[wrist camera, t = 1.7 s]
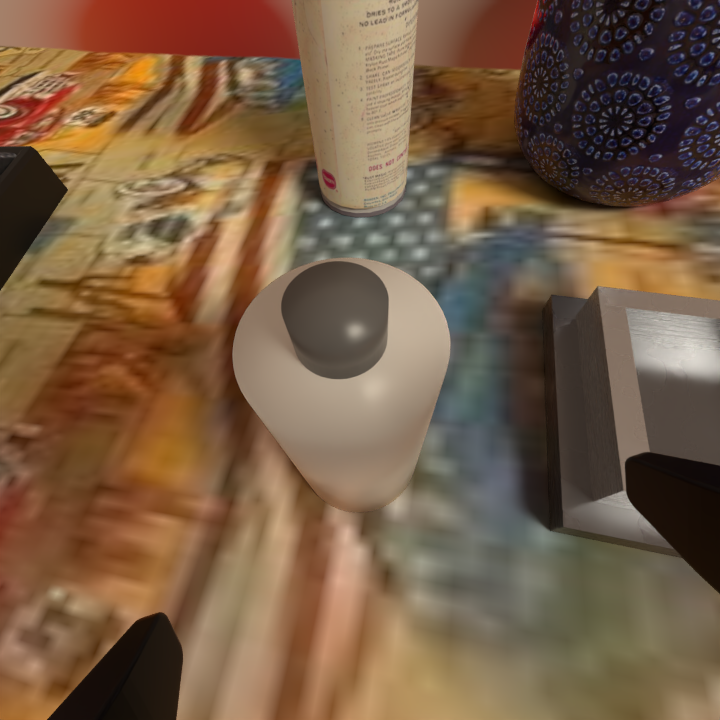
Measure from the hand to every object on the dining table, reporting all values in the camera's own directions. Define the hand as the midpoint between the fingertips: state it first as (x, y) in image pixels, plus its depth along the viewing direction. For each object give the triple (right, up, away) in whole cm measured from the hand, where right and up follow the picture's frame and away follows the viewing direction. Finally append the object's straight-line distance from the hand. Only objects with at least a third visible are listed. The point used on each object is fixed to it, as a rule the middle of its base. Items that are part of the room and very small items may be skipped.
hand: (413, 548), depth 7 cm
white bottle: (-1, -1, +13) cm, 13 cm away
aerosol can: (-1, +17, +24) cm, 29 cm away
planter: (+19, +19, +24) cm, 36 cm away
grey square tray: (+16, 0, +13) cm, 20 cm away
